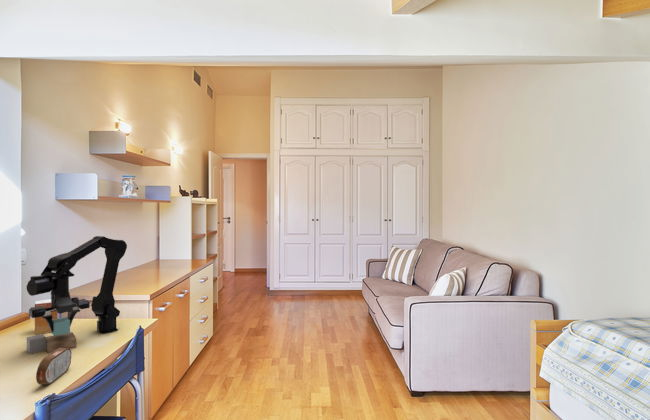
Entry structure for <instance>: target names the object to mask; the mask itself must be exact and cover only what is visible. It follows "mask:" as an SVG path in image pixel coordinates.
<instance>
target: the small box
mask: <svg viewBox="0 0 650 420" xmlns="http://www.w3.org/2000/svg"><path fill="white" fill-rule="evenodd" d="M37 306H43V307H44V308H47V307H51V298H49V299H41V300H35V303H34V307H37ZM55 309H56V308H55ZM51 315H52V320H53V319H59V313H58V312H57V311H53V312H51ZM47 333H51V329H50V327H49V325H48V323H47V321H46V319H45V318H42V317H37V318H34V335H40V334H47Z"/></svg>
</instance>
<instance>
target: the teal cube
mask: <svg viewBox="0 0 650 420" xmlns="http://www.w3.org/2000/svg"><path fill="white" fill-rule="evenodd" d="M67 317H68V316H67ZM67 317H66V316H65V317H60V318H59V317H58V319H53V320H52V321H53V332H50V333H51V335H52V336H53V335H54V336H57V335H62V334H67V333H70V332H71V326H70V320H69V319H68V318H67Z"/></svg>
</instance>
